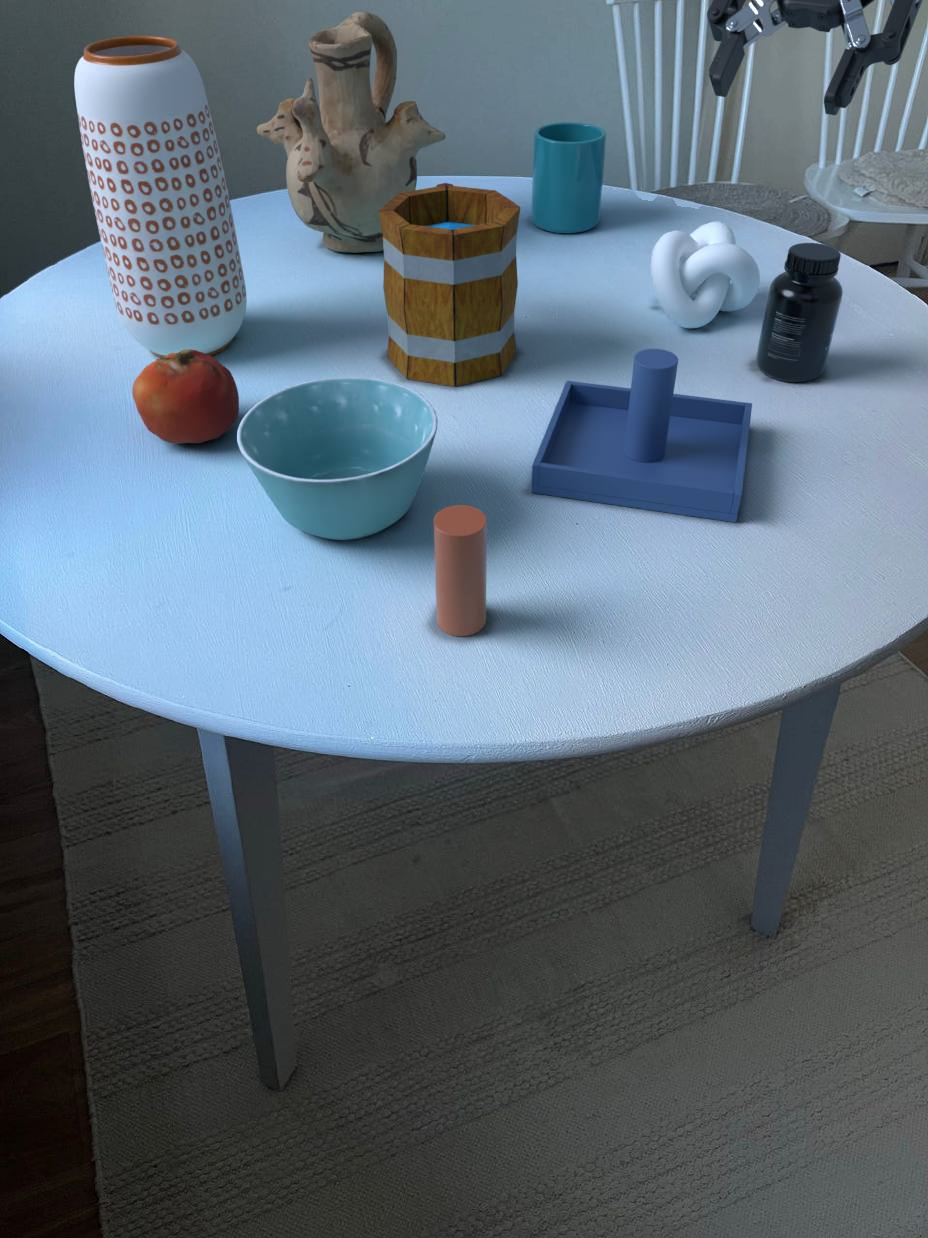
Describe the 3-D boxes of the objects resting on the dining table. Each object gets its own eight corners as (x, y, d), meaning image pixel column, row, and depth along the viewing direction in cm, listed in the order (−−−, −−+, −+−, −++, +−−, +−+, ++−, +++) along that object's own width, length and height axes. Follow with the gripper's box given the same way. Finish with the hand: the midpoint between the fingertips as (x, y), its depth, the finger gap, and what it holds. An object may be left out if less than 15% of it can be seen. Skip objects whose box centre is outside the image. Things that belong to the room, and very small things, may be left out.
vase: (162, 384, 100) (91, 72, 82) (105, 338, 108) (28, 43, 90) (276, 345, 107) (235, 47, 88) (215, 304, 115) (165, 22, 96)
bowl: (265, 584, 77) (249, 494, 71) (241, 475, 88) (225, 390, 83) (462, 547, 80) (461, 459, 74) (414, 447, 91) (410, 364, 86)
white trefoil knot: (692, 349, 106) (705, 265, 100) (615, 310, 113) (622, 229, 107) (765, 320, 111) (781, 239, 105) (686, 285, 118) (697, 207, 112)
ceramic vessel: (267, 229, 132) (238, 11, 115) (402, 207, 138) (393, -4, 121) (311, 281, 119) (286, 44, 103) (457, 255, 125) (455, 26, 109)
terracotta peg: (491, 608, 74) (492, 508, 68) (478, 640, 72) (479, 539, 66) (444, 600, 75) (442, 501, 69) (430, 631, 72) (426, 531, 67)
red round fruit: (126, 430, 94) (105, 351, 89) (213, 398, 98) (198, 321, 93) (173, 471, 89) (154, 390, 83) (263, 436, 93) (250, 356, 88)
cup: (601, 204, 138) (608, 116, 131) (597, 236, 129) (605, 143, 122) (535, 201, 139) (539, 114, 132) (527, 233, 130) (531, 141, 123)
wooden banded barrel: (522, 384, 100) (528, 232, 90) (387, 389, 99) (377, 237, 90) (505, 301, 115) (508, 163, 105) (387, 305, 114) (378, 167, 104)
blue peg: (666, 444, 90) (680, 351, 84) (662, 465, 87) (675, 370, 81) (626, 438, 91) (637, 346, 85) (620, 459, 88) (631, 365, 82)
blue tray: (746, 429, 93) (752, 402, 91) (736, 522, 82) (742, 494, 80) (564, 406, 97) (566, 380, 95) (531, 492, 86) (532, 464, 84)
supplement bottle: (837, 376, 101) (868, 258, 93) (780, 389, 99) (807, 270, 91) (796, 348, 106) (822, 233, 98) (741, 359, 104) (763, 243, 96)
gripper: (764, -159, 72) (671, 52, 73) (970, -151, 66) (866, 80, 66) (778, -78, 79) (693, 114, 79) (965, -64, 73) (872, 145, 73)
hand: (772, 98), depth 73 cm, fingers open, 8 cm apart
